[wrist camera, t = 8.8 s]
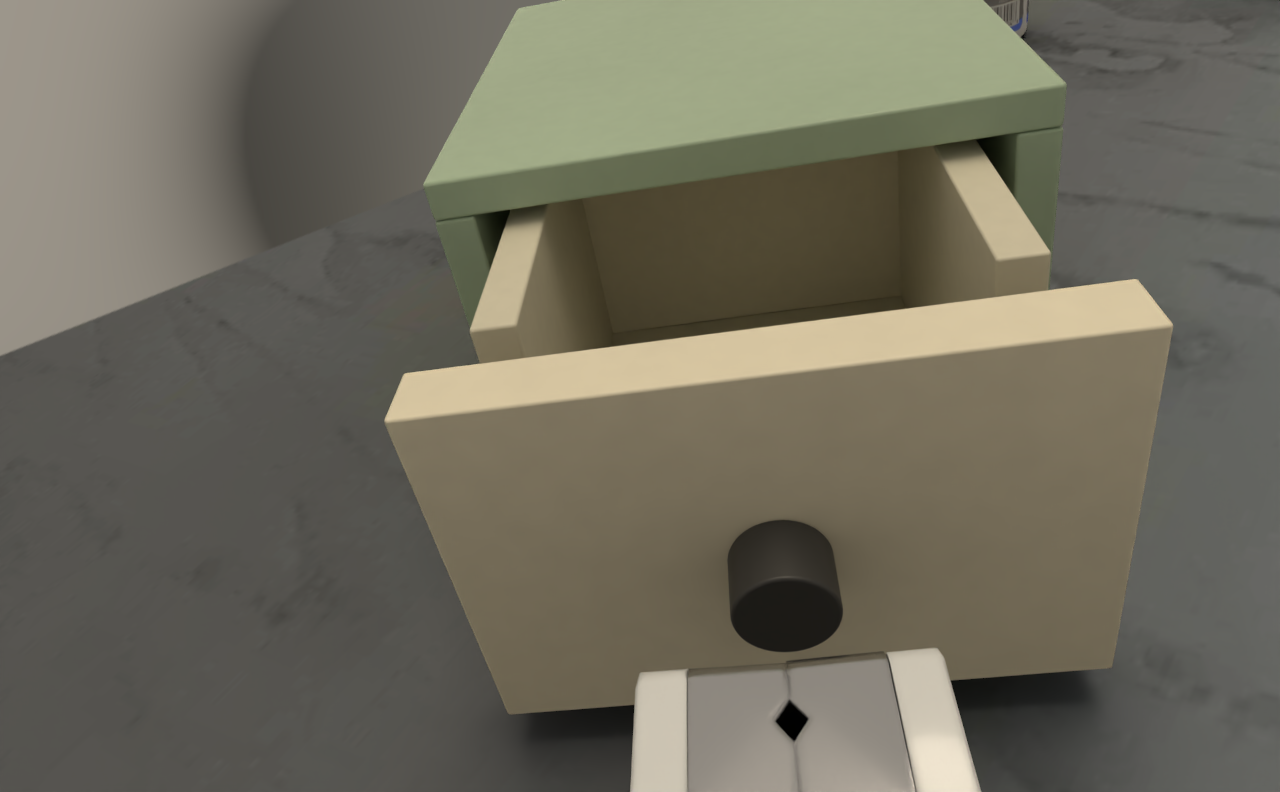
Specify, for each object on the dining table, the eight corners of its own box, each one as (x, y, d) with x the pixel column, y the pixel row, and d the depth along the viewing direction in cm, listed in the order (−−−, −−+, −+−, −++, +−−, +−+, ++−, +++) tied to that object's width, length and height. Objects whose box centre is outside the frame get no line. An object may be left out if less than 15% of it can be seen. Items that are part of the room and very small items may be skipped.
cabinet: (1035, 463, 21) (1068, 82, 16) (531, 516, 23) (420, 184, 18) (921, 215, 31) (920, -66, 26) (578, 264, 33) (517, 8, 28)
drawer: (1141, 733, 15) (1218, 381, 11) (497, 777, 16) (357, 479, 12) (953, 309, 25) (958, 49, 21) (569, 359, 26) (506, 123, 22)
